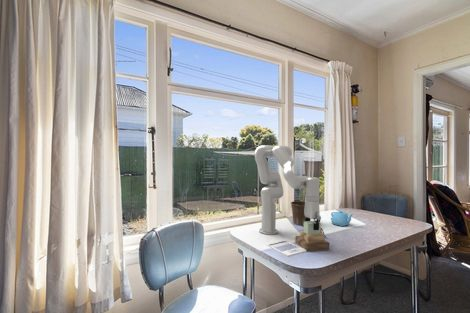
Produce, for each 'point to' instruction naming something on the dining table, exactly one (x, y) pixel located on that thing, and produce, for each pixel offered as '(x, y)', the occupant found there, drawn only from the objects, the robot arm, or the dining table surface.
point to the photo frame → (289, 252)
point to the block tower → (311, 241)
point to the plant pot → (298, 212)
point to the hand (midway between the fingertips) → (311, 227)
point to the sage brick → (311, 227)
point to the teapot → (340, 218)
